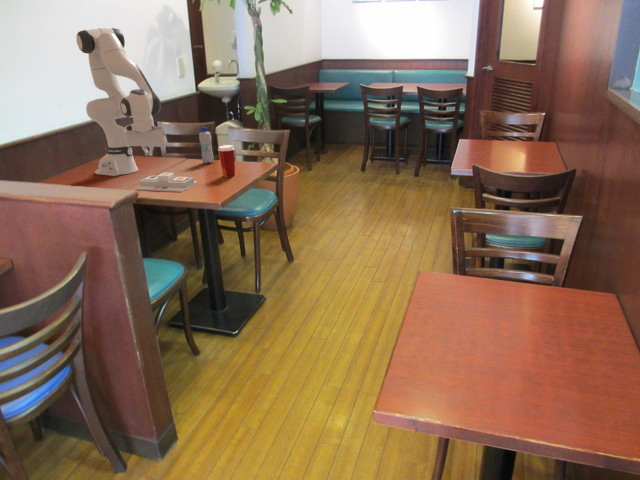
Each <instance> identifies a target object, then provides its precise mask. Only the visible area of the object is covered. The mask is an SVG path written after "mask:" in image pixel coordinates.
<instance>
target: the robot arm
mask: <svg viewBox="0 0 640 480" xmlns="http://www.w3.org/2000/svg"><path fill="white" fill-rule="evenodd" d="M125 42H126V41H125V36H124V34H123V33H122V31H121V30H120V29H118V28H114V27H112V28H105V27H104V28H101V27H100V28H95V29H88V30H86V29H83V30H79V31H78V32H77V33H76V44H77V47H78V49H79V50H80V51H81V52H82V53H83V54H87V55H88V63H89V68H90V72H91V76H92V80H93V84H94V86H95V88H97V89H98V90H100V91H103V92H105V93H106V94H107V96H108V97H103V98H97V99H93V100H91V101H88V102H87V103H86V107H85V110H86V114H87V116H88V117H89V119H91V120H92V121H93V122H96V123H97V124H98V125H99V127H101V128H102V130H103V132H104V134H105V138H106V141H107V147H105V148H104V151H106V154H105V155H104V156H102V158H101V159H100V160H99V161H98V169H96V170H95V171H94V174H95V175H103V176H112V177H116V176H120V175H127V174H132V173H133V174H134V173H135V172H138V170H139V168H138V166H137V164H136V161H135V158H134V155H133V153H134V152H133V147H141V149H142V150H143V152H144V155H145V157H146V156H148V157H149V156H150V157H151V156H153V152H154V148H155V147H156V148H157V147H158V148H164V147H167V145H168V139H167V135H166V129H165V128H163V127H162V126H158V125H157V126H155V124H154V123H155V122H154V118H153V116H157V115H158V114H159V113H160V112H161V110H162V101H161V100H160V98H159V96H158V95H157V94H156V93H155V92H154V90H153V88H152V87H151V85H150V83H149V81H148V80H147V78H146V76H145V75H144V72H143V71H142V69H141V68H140V66H139V65H138V64H136V63H134V62H133V61H132V60H131V59H130V58H129V57H128V55H127V53H126V51H125V45H126V44H125ZM117 76H119V77H123V78H126V79H130V80H132V81H133V82H135V83H136V86H137V87H138V89H132V90H130V91H129V94H127V93H126V91H124V90H123V88H122V87H121V85H120V84H119V81H118V78H117ZM125 118H133V119H132V123H130V124H128V125H126V126H122V125H119V124H118V123H117V122H116V120H118V119H125ZM148 149H149V150H148Z"/></svg>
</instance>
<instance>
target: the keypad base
mask: <svg viewBox="0 0 640 480" xmlns="http://www.w3.org/2000/svg"><path fill="white" fill-rule="evenodd" d="M177 177H178V176H175V178H177ZM197 184H198V180H195V178H194V177H189V180H187V181H185V182H173V181H172V180H171V181H169V182H166V181H159V180H156V181H145V178H143V179H140V180H139V185H140V186H138V187H136V190H137V191H154V192H155V191H157V192H174V193H175V192H176V193H183V192H184V191H187V190H188V189H190V188H192V187H193V186H195V185H197Z"/></svg>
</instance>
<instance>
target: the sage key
mask: <svg viewBox="0 0 640 480" xmlns="http://www.w3.org/2000/svg"><path fill="white" fill-rule="evenodd" d="M157 176H158V180H159V181H166V182H169V181H171V180H173V179H175V177H176V176H175V173H174V172H162V173H161V174H158V175H157Z"/></svg>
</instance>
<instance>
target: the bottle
mask: <svg viewBox="0 0 640 480" xmlns="http://www.w3.org/2000/svg"><path fill="white" fill-rule="evenodd" d="M200 131H201V132H199V134H198V137H199V139H198V140H199V144H200V150H201V159H202V162H203V164H211V163H213V162H214V153H213V146H212V136H211V132H210V131H208V128H207V127H206V126H201V128H200Z"/></svg>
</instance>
